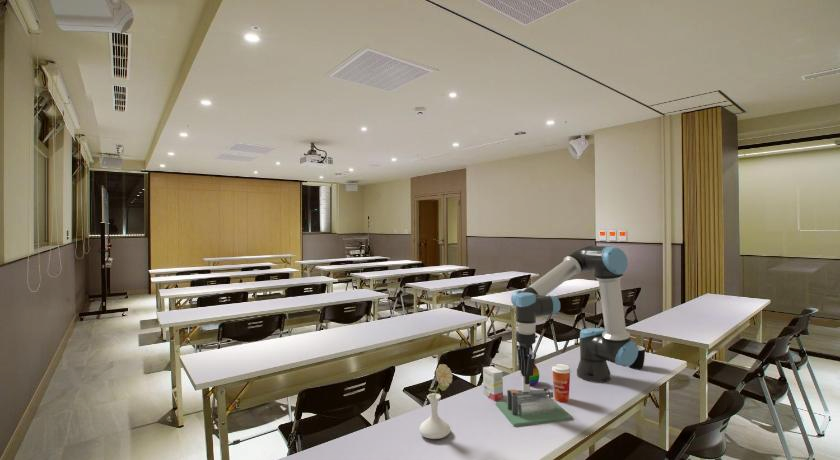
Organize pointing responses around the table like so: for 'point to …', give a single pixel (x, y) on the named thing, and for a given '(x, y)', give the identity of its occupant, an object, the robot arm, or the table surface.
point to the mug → (639, 359)
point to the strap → (532, 392)
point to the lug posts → (512, 402)
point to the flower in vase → (434, 424)
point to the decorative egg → (534, 376)
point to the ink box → (493, 383)
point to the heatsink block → (535, 404)
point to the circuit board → (519, 421)
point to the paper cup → (561, 382)
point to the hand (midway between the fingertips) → (525, 391)
